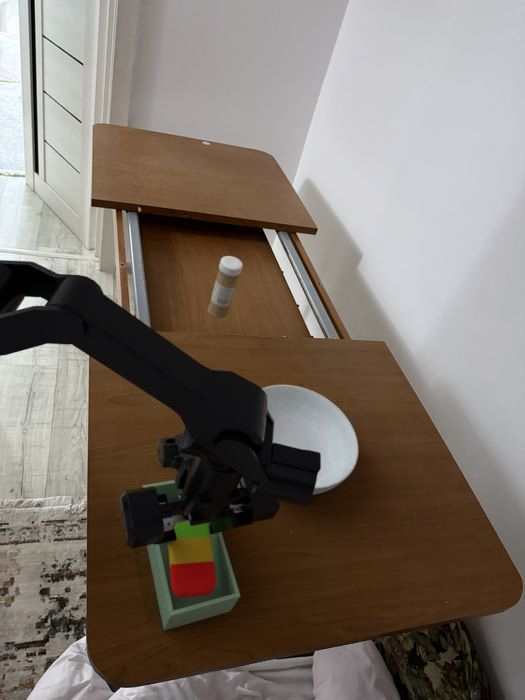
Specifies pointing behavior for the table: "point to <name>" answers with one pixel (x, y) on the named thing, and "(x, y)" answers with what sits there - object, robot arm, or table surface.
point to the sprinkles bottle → (225, 286)
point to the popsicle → (192, 561)
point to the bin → (196, 607)
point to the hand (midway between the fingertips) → (189, 535)
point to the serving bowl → (314, 431)
